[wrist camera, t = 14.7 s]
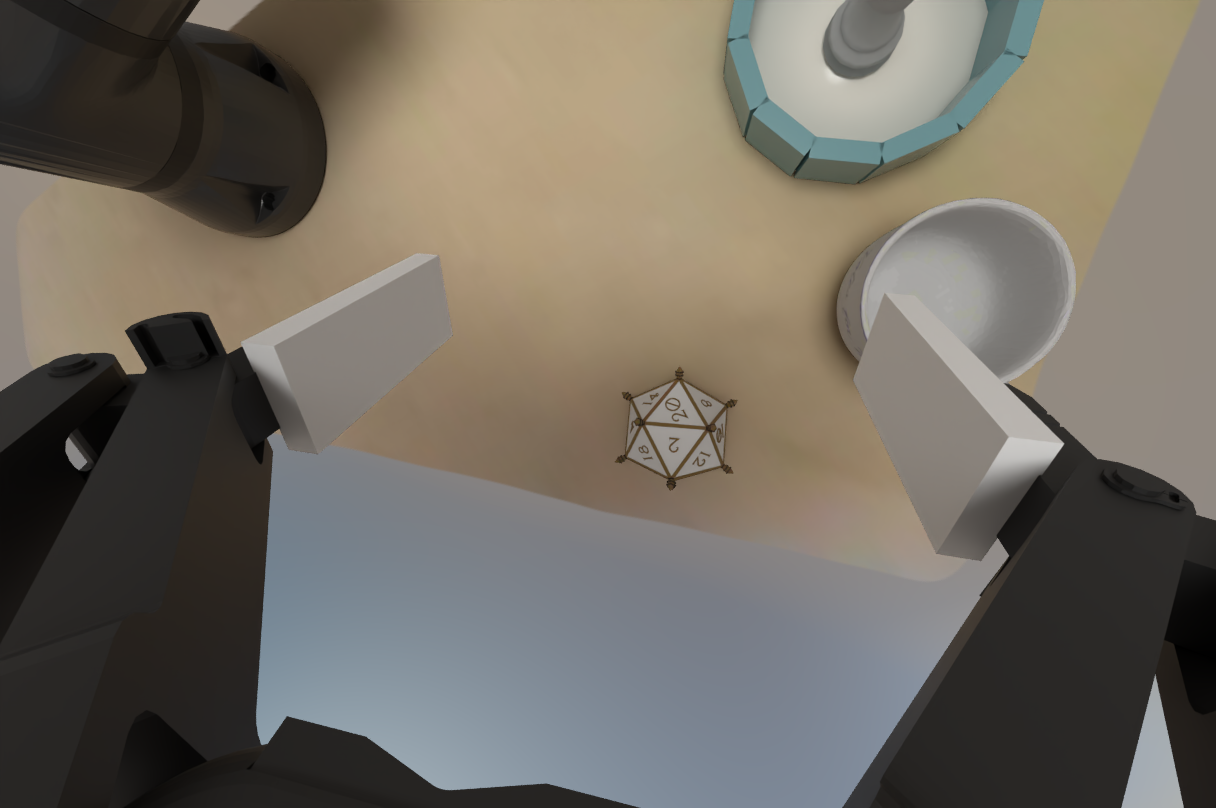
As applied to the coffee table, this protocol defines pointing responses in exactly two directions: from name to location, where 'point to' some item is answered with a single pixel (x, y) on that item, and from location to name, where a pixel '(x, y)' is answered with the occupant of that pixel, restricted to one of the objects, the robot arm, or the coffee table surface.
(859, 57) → the rook chess piece
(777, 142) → the dish
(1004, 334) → the teacup
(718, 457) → the game die
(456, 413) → the coffee table surface
